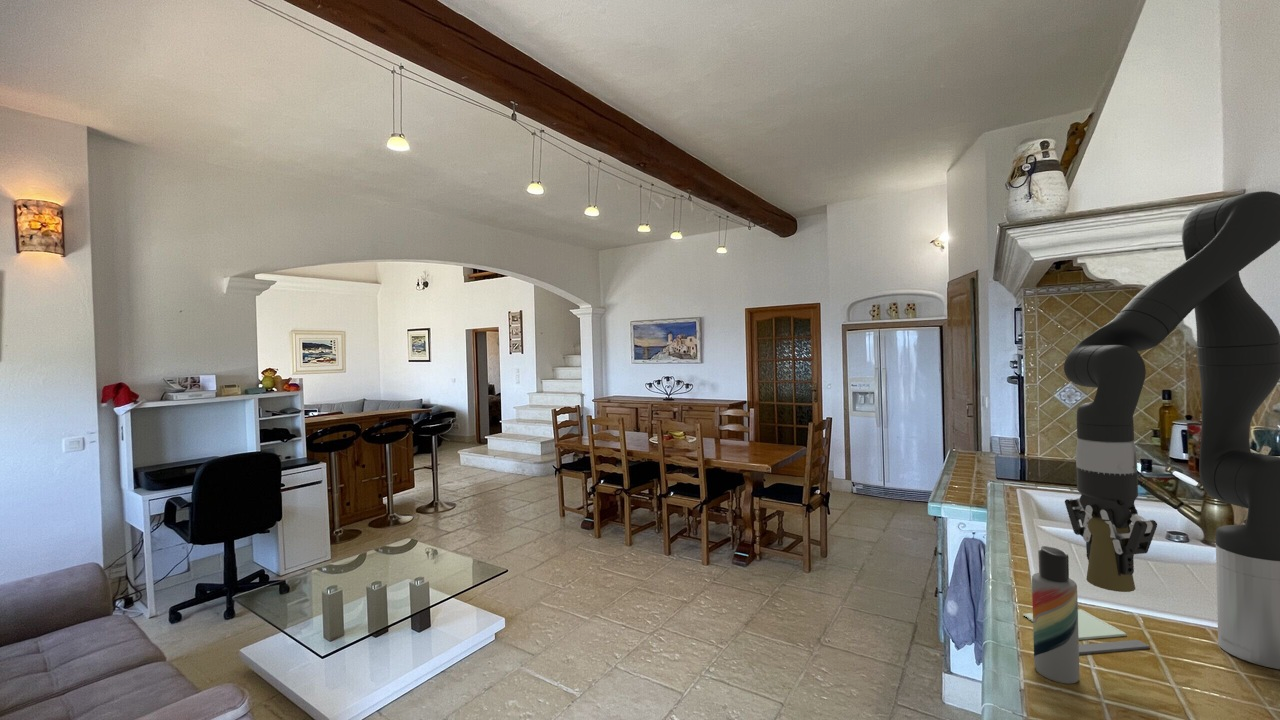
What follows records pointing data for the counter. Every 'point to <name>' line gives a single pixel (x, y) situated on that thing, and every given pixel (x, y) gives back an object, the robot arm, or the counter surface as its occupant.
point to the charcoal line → (1112, 646)
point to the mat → (1091, 627)
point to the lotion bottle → (1055, 618)
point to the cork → (1106, 559)
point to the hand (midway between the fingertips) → (1109, 569)
